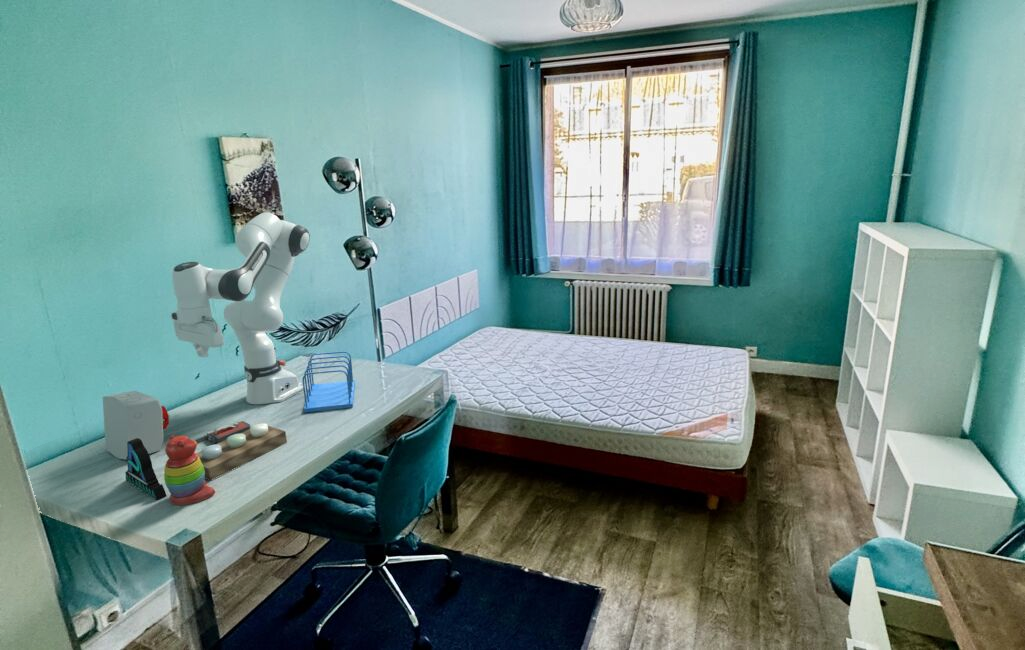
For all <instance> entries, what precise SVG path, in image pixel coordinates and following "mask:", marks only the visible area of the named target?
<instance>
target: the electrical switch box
mask: <svg viewBox="0 0 1025 650" xmlns="http://www.w3.org/2000/svg"><path fill="white" fill-rule="evenodd" d="M102 406H103V407H102V409H103V425H104V428H103V429H104V443H105V445H104V446H105V450H107V451H108V452H109V453H110V454H112V455H113V457H115V458H116V459H119V460H126V458H127V456H128V446H127V442H128V441H131V440H133V439H136V438H139V439H141V440H142V443H143V445H144V447H145V448H146V450H147V451H148V454H149V455H151V454H155V453H156V452H159V451H161V448H162V445H163V443H164V430H166V429H167V428H168V427H169V424H170V415H169V413H168V411H167V409H166V406H164V405H161V403H160V401H159V399H158V398H156V397H154V396H150V395H148V394H145V393H142V392H140V391H137V390H132V391H126V392H121V393H116V394H108V395H103V396H102ZM126 461H127V460H126Z"/></svg>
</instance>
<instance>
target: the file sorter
mask: <svg viewBox="0 0 1025 650" xmlns="http://www.w3.org/2000/svg"><path fill="white" fill-rule="evenodd" d="M332 354H333V356H326V357H325V356H323V355H332ZM334 354H347V355H348V356H349V357H348V356H346V355H335V356H334ZM320 355H322V357H315V356H320ZM335 358H336V359H337V358H345V359H347V360H343V359H342V360H339V359H338V360H329V361H327V360H326V359H335ZM324 359H325V360H326V361H317V362H312V361H315V360H324ZM307 362H308V363H307V365H306V369H305V371H304V373H303V376H302V378H301V379H302V384H303V390H302V391H303V397H304V407H303V412H304V413H311V412H312V413H314V412H321V411H331V410H339V409H340V410H341V409H351V408H354V400H355V389H356V382H355V380H354V376H353V366H352V365H353V363H352V356H351V354H350V353H349V352H348V351H345V350H343V351H332V352H331V351H329V352H319V353H313V354H312V355H311V356H310V358H309V360H308V361H307ZM342 362H343V363H345V364H346V365H347V366H346V365H344V364H336V365H323V366H314V367H313V365H319V364H320V365H321V364H330V363H331V364H333V363H342ZM327 368H344V369H346V371H347V372H346V371H345V370H342V369H336V370H325V371H324V370H323V371H314V372H313V370H315V369H316V370H318V369H327ZM339 372H341V373H344V374H345V376H346V381H345V380H343V381H334V382H323V383H314V382H315V381H314V375H317V374H327V373H339ZM350 407H351V408H350Z"/></svg>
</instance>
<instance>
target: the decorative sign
mask: <svg viewBox="0 0 1025 650" xmlns="http://www.w3.org/2000/svg"><path fill="white" fill-rule="evenodd" d="M127 446H128V456H127V458H126V465H127V471H125V481H126V482H128V483H129V484H131V485H132V484H133V485H132V486H134V487H135V486H136V487H135V488H137V489H138V488H139V489H138V490H140V491H141V490H142V491H141V492H143V493H145V494H146V495H147V494H148V496H149V497H151V498H152V499H153V498H154V500H155V501H156V502H157V501H159V500H161V499H163V498H166V497H167V493H166V490H165V487H164V485H163V484H162V483H160V482H159V479H158V478H157V475H156V473H155V470H154V467H153V465H152V464H153V463H152V460H151V459H152V458H151V456H150V454H148V451H147V450H146V448H145V447H144V445H143V443H142V440H141V439H139V438H136V439H133V440H131V441H128V442H127Z"/></svg>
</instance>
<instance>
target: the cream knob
mask: <svg viewBox="0 0 1025 650" xmlns="http://www.w3.org/2000/svg"><path fill="white" fill-rule="evenodd" d="M268 426H269V425H268V424H267V423H264V422H263V423H257V424H253V425H252V426H250V427H251V428H250V432H251V436H253V437H260V436H264V435H266V434H267V433H268V432H269V431H268Z"/></svg>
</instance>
